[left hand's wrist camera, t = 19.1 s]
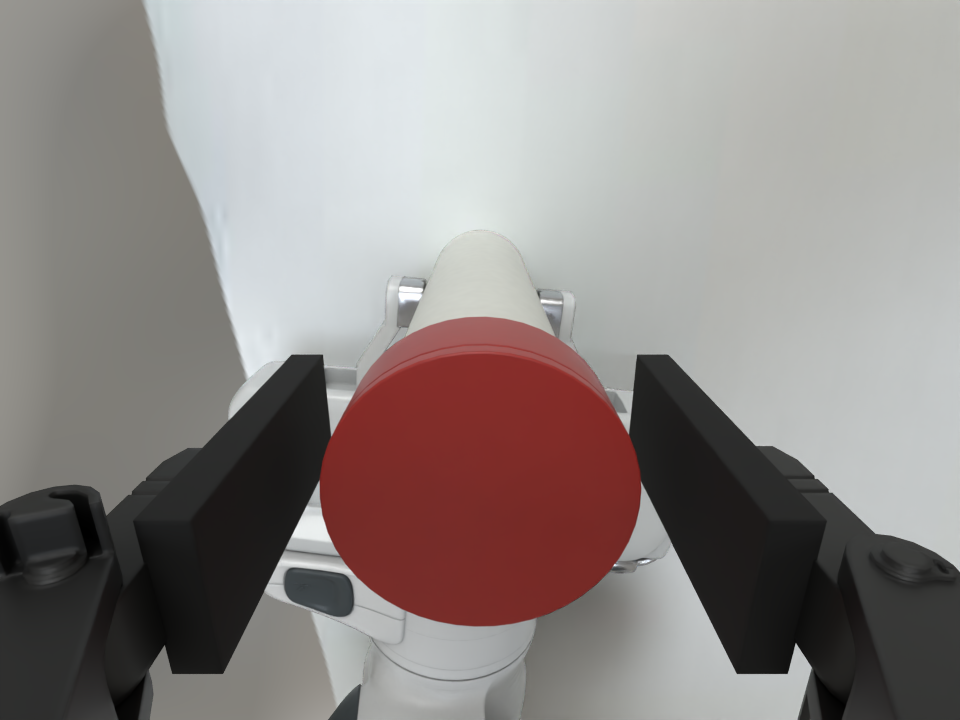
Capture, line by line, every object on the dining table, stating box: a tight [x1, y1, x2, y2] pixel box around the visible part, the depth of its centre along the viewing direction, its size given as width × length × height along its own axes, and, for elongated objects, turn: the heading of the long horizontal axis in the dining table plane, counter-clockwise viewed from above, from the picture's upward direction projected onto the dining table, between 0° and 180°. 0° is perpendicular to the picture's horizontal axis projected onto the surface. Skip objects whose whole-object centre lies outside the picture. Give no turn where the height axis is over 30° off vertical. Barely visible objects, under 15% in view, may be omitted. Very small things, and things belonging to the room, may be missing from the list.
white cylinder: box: [404, 230, 555, 338], centre depth 20 cm, size 5×5×20 cm
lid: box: [320, 317, 641, 627], centre depth 11 cm, size 6×6×2 cm
